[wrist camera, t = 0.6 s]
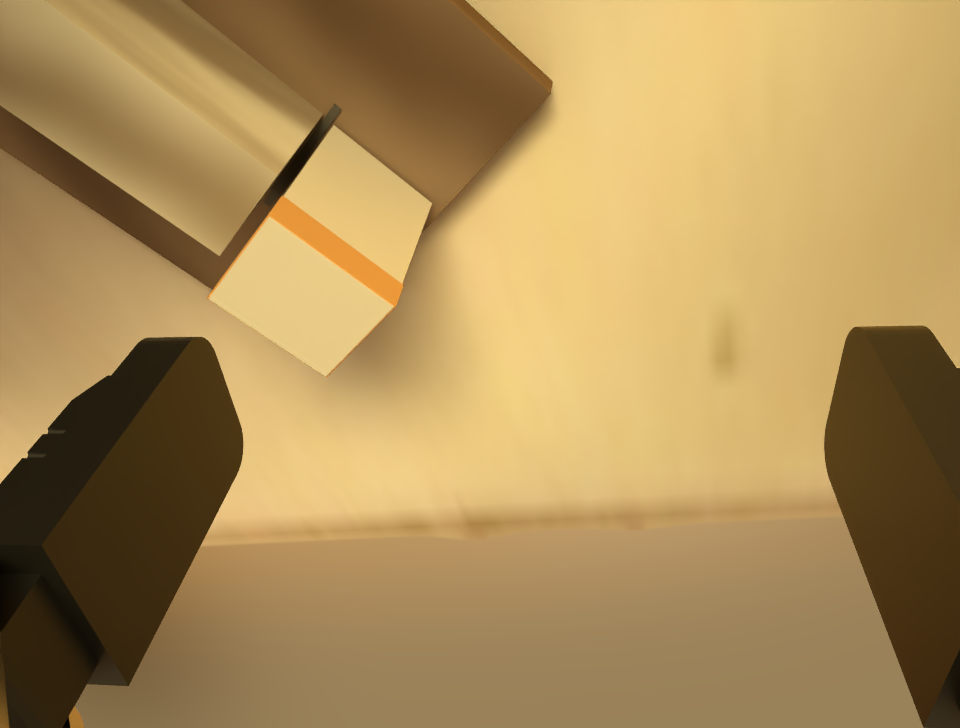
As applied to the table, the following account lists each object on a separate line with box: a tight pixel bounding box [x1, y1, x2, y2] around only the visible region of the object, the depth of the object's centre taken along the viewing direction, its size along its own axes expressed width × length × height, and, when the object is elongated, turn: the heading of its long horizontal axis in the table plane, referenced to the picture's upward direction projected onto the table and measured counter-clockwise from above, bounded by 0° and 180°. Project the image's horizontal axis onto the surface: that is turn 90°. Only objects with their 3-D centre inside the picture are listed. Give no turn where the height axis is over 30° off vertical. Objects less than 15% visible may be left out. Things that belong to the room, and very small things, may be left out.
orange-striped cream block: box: [207, 125, 432, 377], centre depth 27 cm, size 4×5×7 cm
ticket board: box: [0, 0, 552, 290], centre depth 26 cm, size 16×16×6 cm
